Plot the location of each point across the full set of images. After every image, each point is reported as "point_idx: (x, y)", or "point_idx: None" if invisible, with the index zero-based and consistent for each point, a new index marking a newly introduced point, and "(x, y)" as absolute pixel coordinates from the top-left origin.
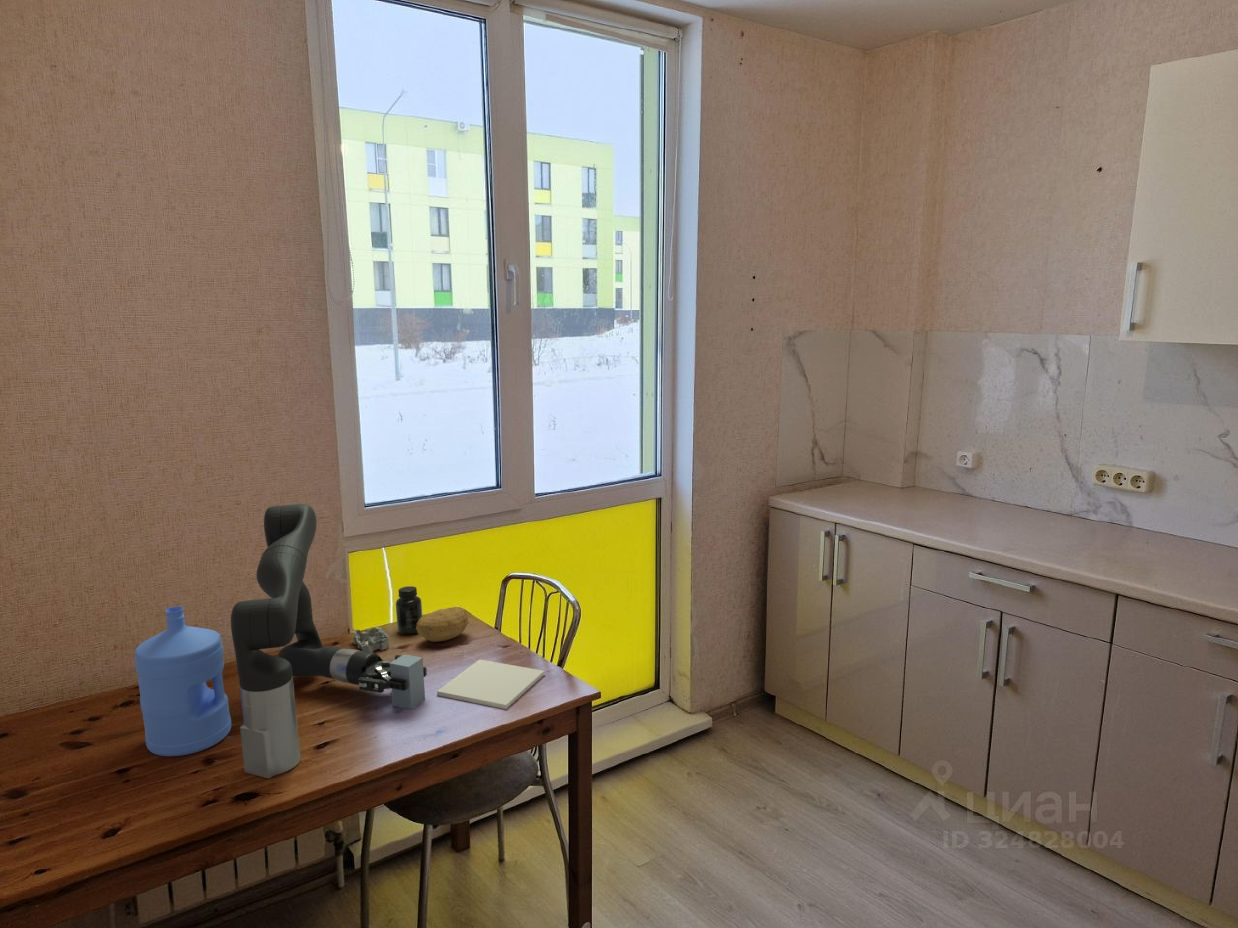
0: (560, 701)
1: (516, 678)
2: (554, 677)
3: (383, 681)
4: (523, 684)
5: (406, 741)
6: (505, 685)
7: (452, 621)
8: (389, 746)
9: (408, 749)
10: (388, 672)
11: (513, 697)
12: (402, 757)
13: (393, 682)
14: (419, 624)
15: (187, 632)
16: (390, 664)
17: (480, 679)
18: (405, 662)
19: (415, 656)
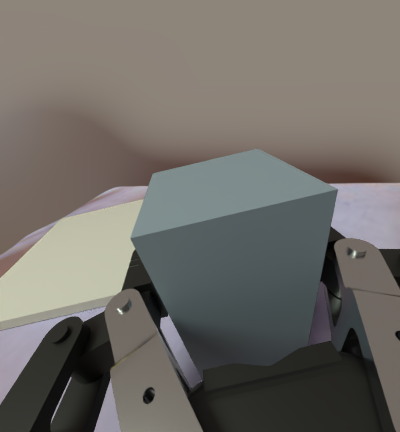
0: (137, 187)
1: (86, 224)
2: (75, 214)
3: (395, 269)
4: (107, 211)
5: (340, 205)
6: (112, 220)
7: None
8: (385, 208)
9: (346, 192)
10: (311, 348)
11: None
12: (364, 184)
13: (330, 228)
14: None
15: None
16: (331, 197)
17: (88, 255)
18: (236, 169)
19: (148, 188)
